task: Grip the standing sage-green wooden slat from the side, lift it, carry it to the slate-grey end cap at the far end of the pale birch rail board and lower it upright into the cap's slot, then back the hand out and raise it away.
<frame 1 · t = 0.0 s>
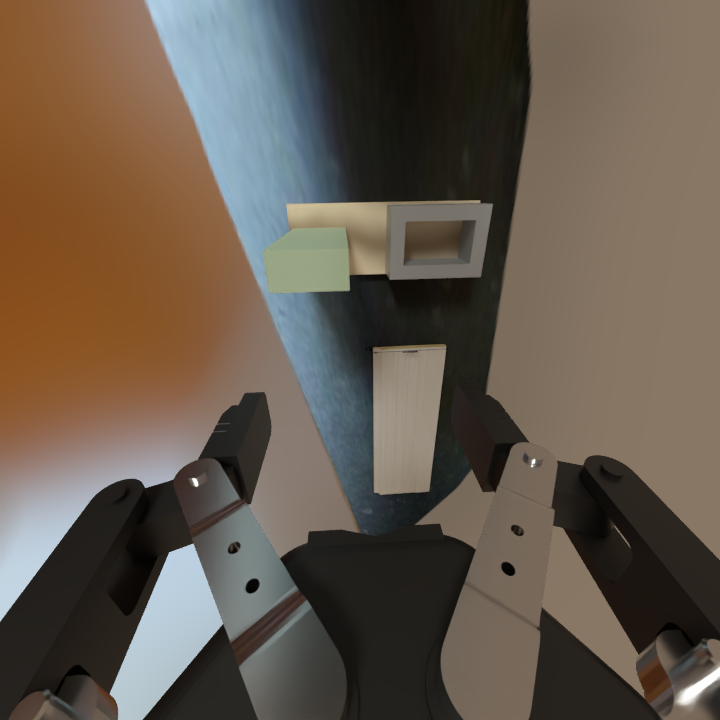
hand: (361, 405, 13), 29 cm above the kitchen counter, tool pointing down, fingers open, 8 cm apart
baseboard: (399, 424, 53), on the kitchen counter
slat: (320, 241, 36), point 1 cm above the kitchen counter, touching rail board
rail board: (382, 238, 38), on the kitchen counter
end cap: (429, 238, 37), resting on rail board
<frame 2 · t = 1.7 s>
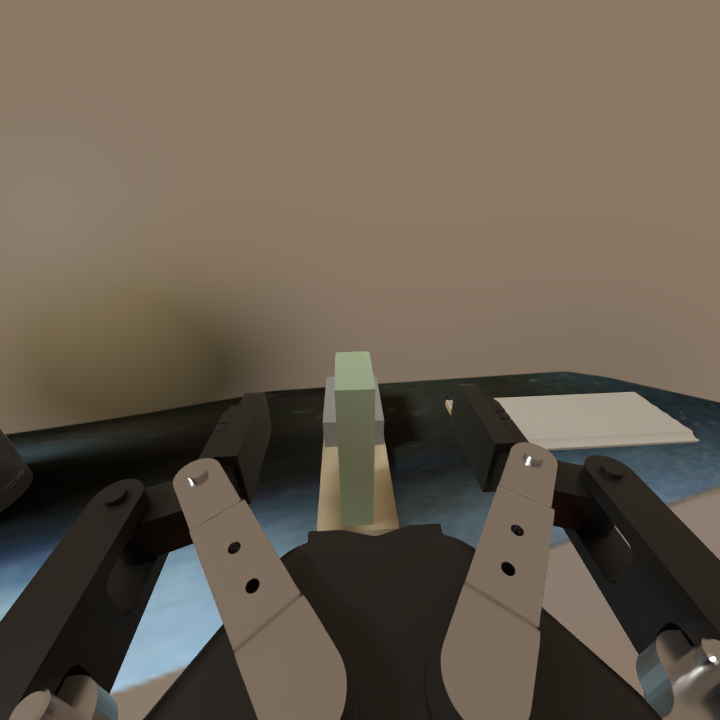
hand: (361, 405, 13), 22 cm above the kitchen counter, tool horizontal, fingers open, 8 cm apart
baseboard: (562, 429, 44), on the kitchen counter
slat: (356, 498, 33), point 1 cm above the kitchen counter, touching rail board
rail board: (354, 453, 40), on the kitchen counter
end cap: (353, 419, 44), resting on rail board
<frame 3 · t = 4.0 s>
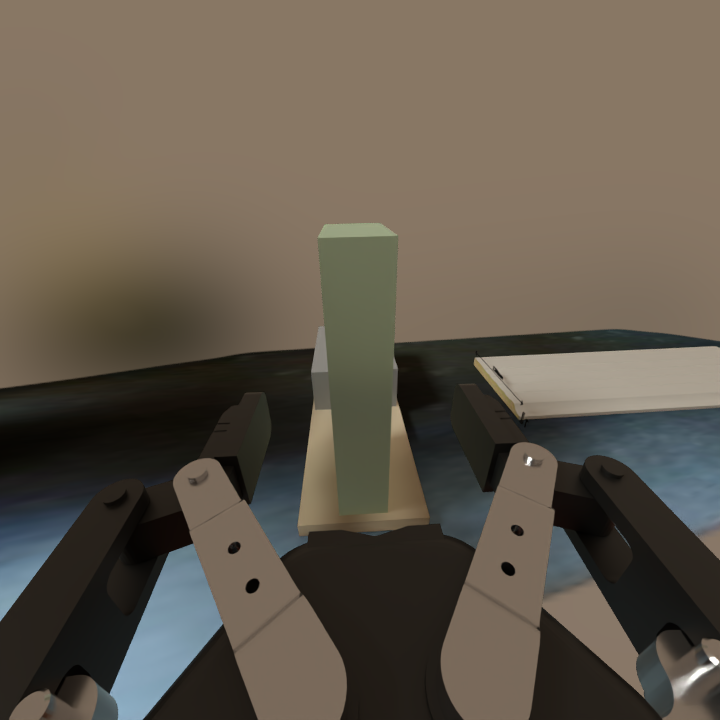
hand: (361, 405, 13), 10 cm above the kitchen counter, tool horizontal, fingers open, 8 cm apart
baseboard: (633, 390, 33), on the kitchen counter
slat: (360, 475, 22), point 1 cm above the kitchen counter, touching rail board
rail board: (356, 418, 29), on the kitchen counter
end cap: (353, 378, 33), resting on rail board
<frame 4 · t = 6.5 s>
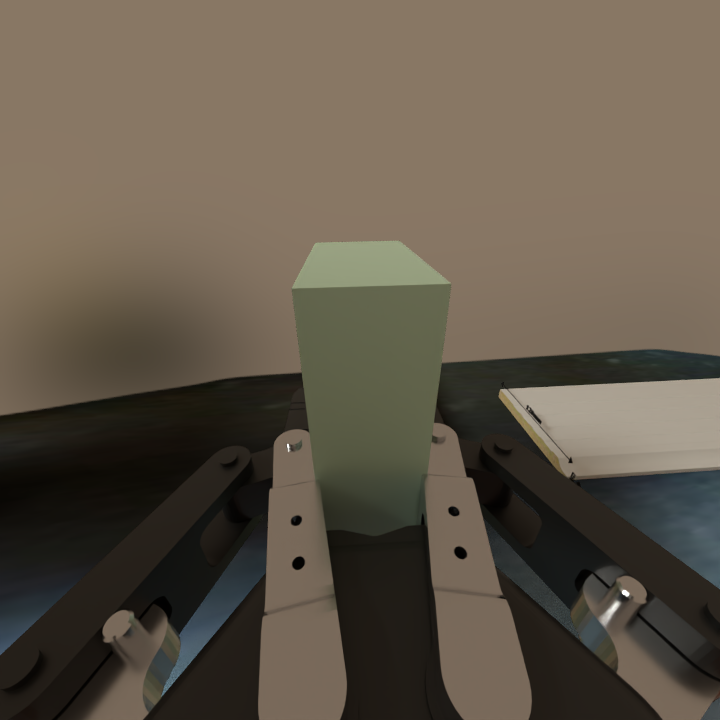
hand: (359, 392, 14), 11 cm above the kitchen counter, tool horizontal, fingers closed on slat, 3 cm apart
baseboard: (695, 433, 27), on the kitchen counter
slat: (366, 576, 16), point 1 cm above the kitchen counter, touching gripper, rail board
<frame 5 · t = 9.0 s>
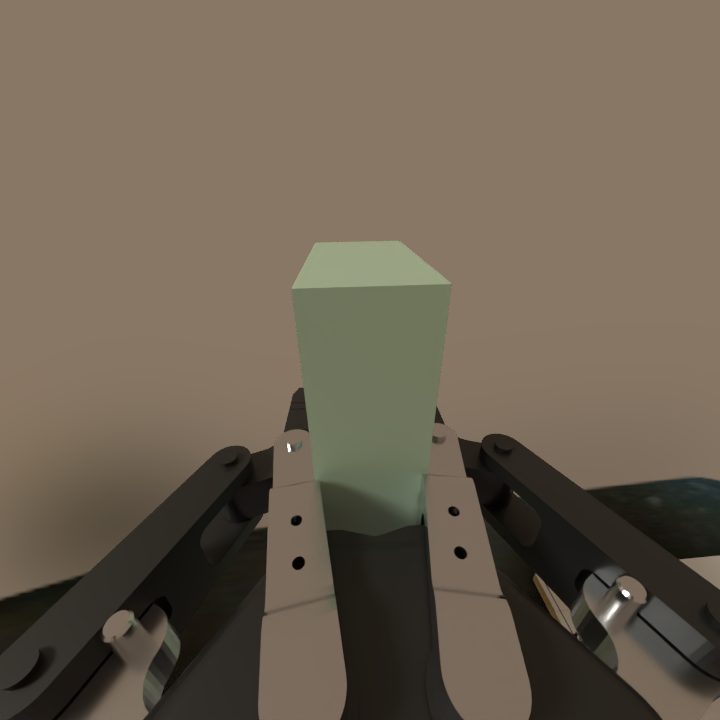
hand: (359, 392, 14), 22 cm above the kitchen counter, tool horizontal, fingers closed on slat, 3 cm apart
slat: (366, 576, 16), point 12 cm above the kitchen counter, touching gripper
when the fingers open (12 cm above the kitchen counter, at t = 11.8 s): slat drops 1 cm, resting on rail board.
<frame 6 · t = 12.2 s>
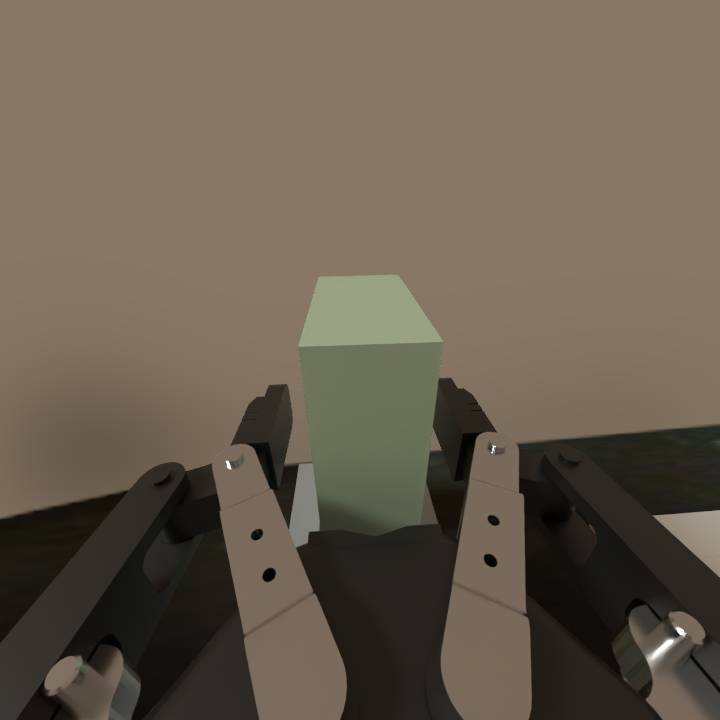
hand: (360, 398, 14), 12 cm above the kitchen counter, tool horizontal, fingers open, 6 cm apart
slat: (366, 588, 17), point 1 cm above the kitchen counter, touching rail board
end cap: (365, 588, 17), resting on rail board
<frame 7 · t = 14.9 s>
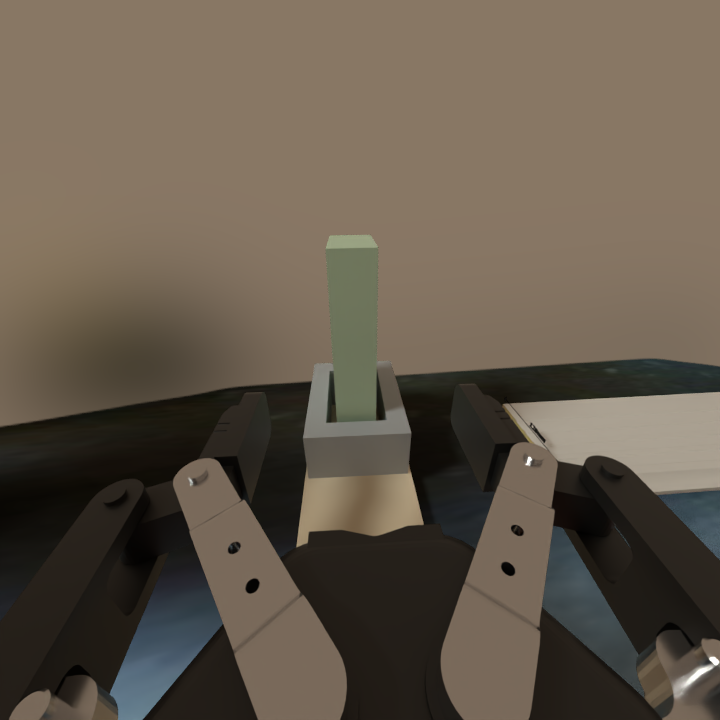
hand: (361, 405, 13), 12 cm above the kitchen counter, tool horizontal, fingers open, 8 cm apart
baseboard: (698, 450, 27), on the kitchen counter
slat: (356, 428, 28), point 1 cm above the kitchen counter, touching rail board
rail board: (358, 487, 23), on the kitchen counter
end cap: (355, 429, 28), resting on rail board
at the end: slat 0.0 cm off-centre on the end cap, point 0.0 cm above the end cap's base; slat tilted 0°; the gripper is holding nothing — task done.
